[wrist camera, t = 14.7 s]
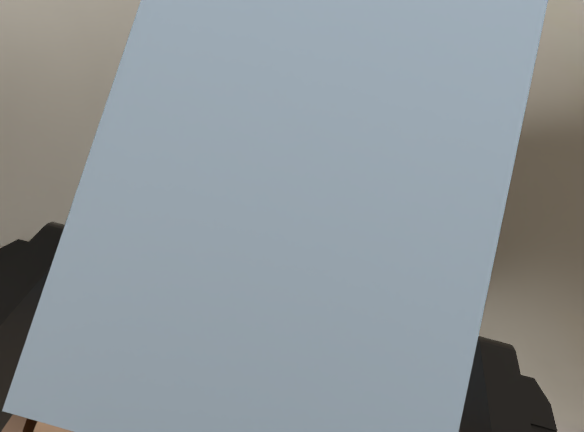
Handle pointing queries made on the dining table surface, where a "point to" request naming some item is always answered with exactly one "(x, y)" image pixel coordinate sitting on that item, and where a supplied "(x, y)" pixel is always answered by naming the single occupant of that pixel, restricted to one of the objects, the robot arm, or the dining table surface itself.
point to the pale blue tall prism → (285, 219)
